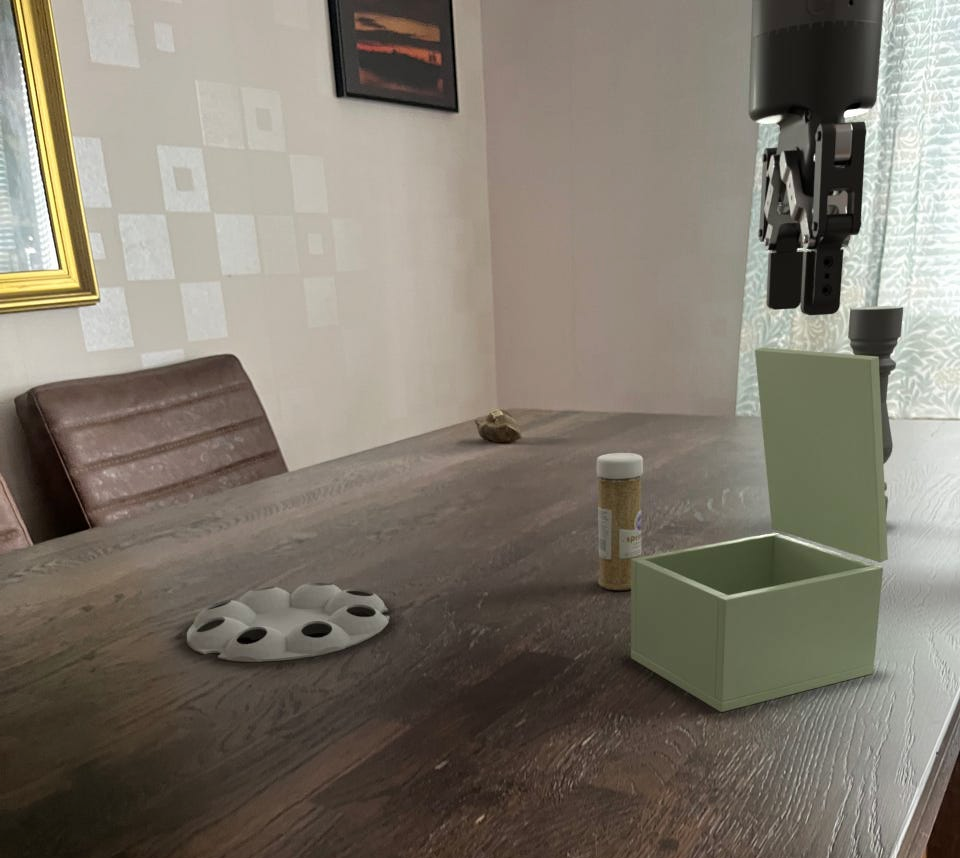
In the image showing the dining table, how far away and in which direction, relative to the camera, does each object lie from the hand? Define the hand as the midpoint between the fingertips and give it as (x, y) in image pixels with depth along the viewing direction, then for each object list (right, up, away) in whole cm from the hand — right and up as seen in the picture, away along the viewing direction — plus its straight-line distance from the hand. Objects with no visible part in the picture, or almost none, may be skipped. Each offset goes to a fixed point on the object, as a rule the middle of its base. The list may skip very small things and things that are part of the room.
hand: (800, 311), depth 66 cm
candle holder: (+25, -8, +56) cm, 61 cm away
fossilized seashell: (-17, +16, +126) cm, 128 cm away
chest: (+1, -24, +16) cm, 29 cm away
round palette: (-40, -20, +32) cm, 55 cm away
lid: (+5, -7, +12) cm, 15 cm away
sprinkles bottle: (-7, -16, +38) cm, 42 cm away
